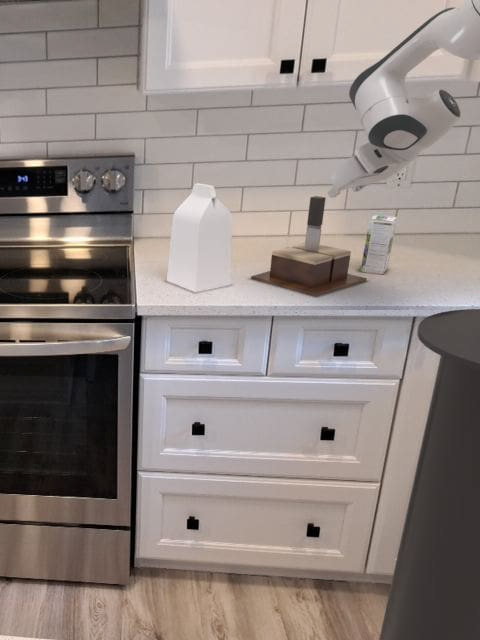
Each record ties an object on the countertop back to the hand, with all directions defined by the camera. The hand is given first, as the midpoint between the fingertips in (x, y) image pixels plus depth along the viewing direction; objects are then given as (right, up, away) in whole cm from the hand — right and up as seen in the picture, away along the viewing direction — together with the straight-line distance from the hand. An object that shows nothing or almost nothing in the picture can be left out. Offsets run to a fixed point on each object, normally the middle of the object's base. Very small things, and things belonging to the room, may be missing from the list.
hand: (342, 192), depth 167 cm
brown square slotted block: (-2, -20, +16) cm, 25 cm away
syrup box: (+19, -17, +20) cm, 32 cm away
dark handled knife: (-2, -13, +13) cm, 18 cm away
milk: (-30, -20, +18) cm, 40 cm away
